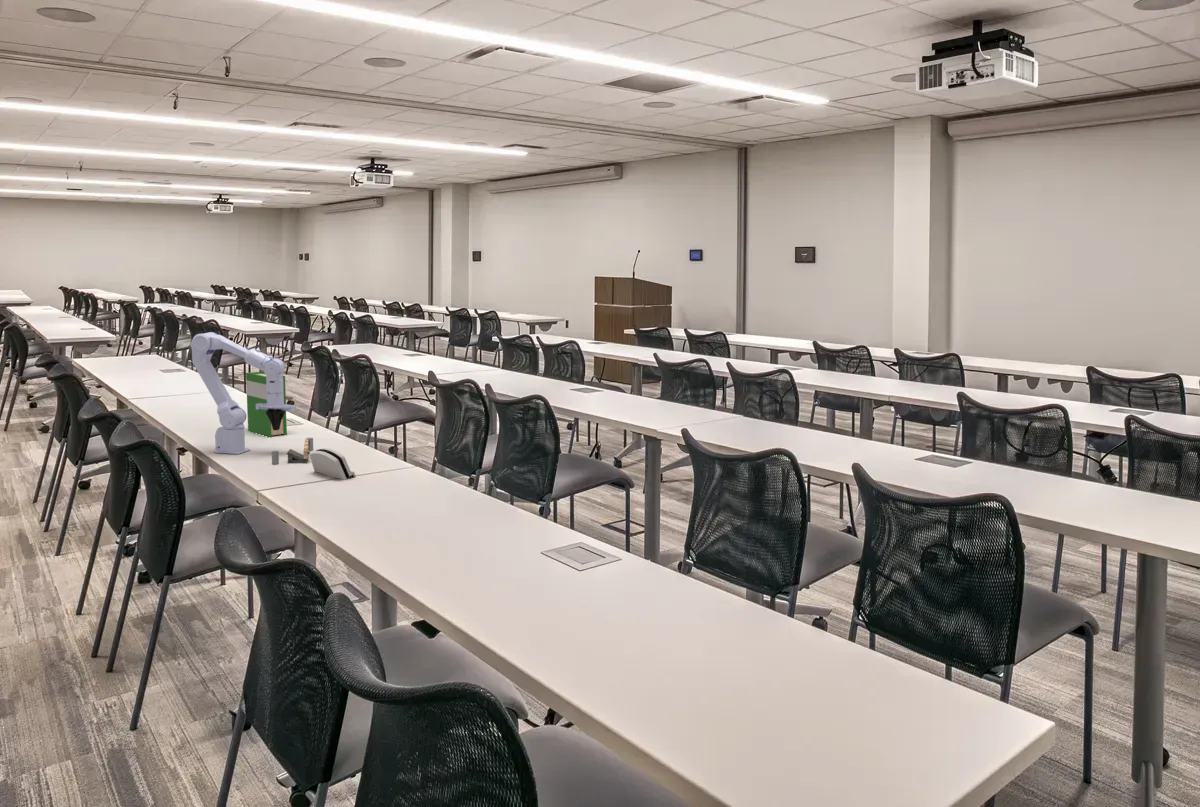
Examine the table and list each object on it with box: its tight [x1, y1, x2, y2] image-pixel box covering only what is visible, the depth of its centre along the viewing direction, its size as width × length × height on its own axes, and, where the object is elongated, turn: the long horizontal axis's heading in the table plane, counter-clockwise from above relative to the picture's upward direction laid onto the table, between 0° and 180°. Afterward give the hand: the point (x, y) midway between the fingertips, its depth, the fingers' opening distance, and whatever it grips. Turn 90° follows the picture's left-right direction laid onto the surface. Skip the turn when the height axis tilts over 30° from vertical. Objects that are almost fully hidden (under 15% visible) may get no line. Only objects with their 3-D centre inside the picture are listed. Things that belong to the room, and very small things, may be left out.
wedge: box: [286, 448, 310, 464], centre depth 298 cm, size 6×5×4 cm
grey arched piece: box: [309, 447, 357, 480], centre depth 280 cm, size 17×5×10 cm, turn 51°
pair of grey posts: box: [271, 437, 314, 465], centre depth 305 cm, size 2×25×4 cm, turn 170°
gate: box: [303, 438, 311, 459], centre depth 305 cm, size 21×2×3 cm, turn 18°
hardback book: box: [245, 371, 288, 438], centre depth 344 cm, size 18×7×24 cm, turn 48°
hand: (276, 429), depth 310 cm, fingers closed
